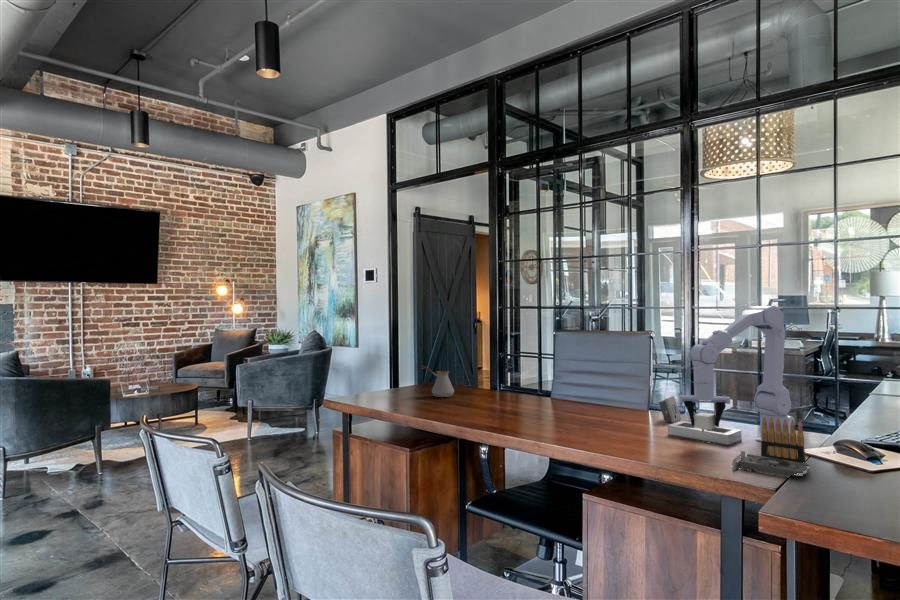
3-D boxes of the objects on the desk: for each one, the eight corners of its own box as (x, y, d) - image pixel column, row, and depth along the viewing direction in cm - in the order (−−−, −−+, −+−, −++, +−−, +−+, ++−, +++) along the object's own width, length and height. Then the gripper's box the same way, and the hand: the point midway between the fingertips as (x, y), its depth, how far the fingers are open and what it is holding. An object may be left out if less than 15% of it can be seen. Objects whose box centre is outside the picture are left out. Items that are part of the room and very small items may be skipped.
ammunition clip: (760, 458, 156) (759, 416, 157) (762, 456, 158) (761, 415, 158) (804, 464, 150) (803, 421, 150) (805, 463, 151) (804, 420, 151)
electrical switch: (674, 423, 203) (671, 399, 204) (660, 423, 206) (657, 399, 207) (681, 419, 211) (678, 395, 211) (668, 419, 214) (665, 395, 214)
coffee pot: (459, 396, 272) (458, 367, 272) (442, 399, 264) (441, 369, 264) (431, 392, 288) (430, 364, 288) (414, 395, 280) (414, 366, 280)
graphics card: (727, 459, 145) (741, 449, 154) (727, 473, 145) (741, 462, 154) (800, 472, 134) (810, 460, 142) (801, 487, 134) (811, 475, 142)
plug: (715, 430, 171) (715, 414, 171) (708, 433, 167) (708, 416, 167) (701, 428, 174) (701, 412, 174) (694, 431, 171) (694, 414, 171)
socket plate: (741, 440, 176) (741, 430, 176) (728, 446, 170) (728, 435, 170) (682, 430, 192) (681, 420, 192) (667, 435, 185) (667, 425, 185)
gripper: (727, 381, 172) (728, 424, 172) (677, 380, 177) (679, 421, 177) (730, 384, 166) (732, 428, 165) (679, 383, 170) (680, 426, 170)
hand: (704, 425), depth 171 cm, fingers closed on plug, 6 cm apart
